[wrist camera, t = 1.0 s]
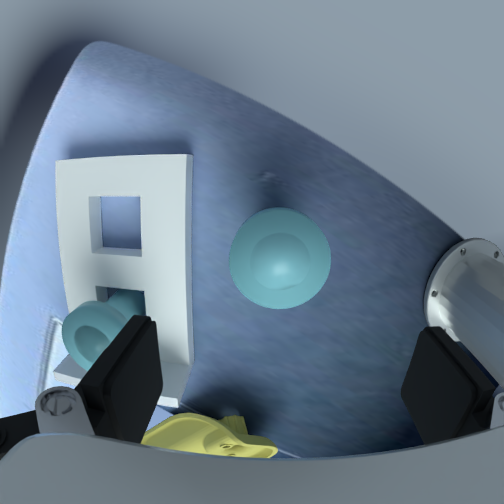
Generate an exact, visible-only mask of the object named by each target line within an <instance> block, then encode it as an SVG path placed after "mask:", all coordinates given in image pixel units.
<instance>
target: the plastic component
mask: <svg viewBox="0 0 504 504" xmlns="http://www.w3.org/2000/svg"><path fill="white" fill-rule="evenodd" d="M141 444H144V445H149V446H155V447H160V448H167V449H173V450H180V451H187V452H195V453H203V454H212V455H222V456H234V457H251V458H270V457H272V456H273V455H275V454H276V453H277V451H278V449H277V447H276V445H275V444H274V443H273V442H272V441H271V440H269V439H268V438H266V437H262V436H255V435H248V432H247V428H246V424H245V421H244V417H243V416H241V417H240V416H237V415H233V416H229V417H227V416H225V417H224V418H223V419H221V420H215V419H213V418H210V417H207V416H204V415H200V414H195V413H181V414H177V415H174V416H171V417H169V418H167V419H166V420H164V421H162V422H161V423H159V424H158V425H156V426H154V427H153V428H151V429H150V430H148V431H146V432H145V434H144V436H143V439H142V441H141Z"/></svg>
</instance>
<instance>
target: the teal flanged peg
mask: <svg viewBox="0 0 504 504" xmlns="http://www.w3.org/2000/svg"><path fill="white" fill-rule="evenodd" d="M145 314H146V306H145V297H144V295H143V294H142V293H141V292H140V291H139V290H130V289H121V288H120V289H119V290H118V291H117V292H116V293H115V294H113V295H112V296H111V297H110V298H109V299H108V300H107V301H106V302H105V303H104V302H101V301H87V302H84V303H82V304H81V305H79V306H78V307H77V308H76V309H75V310H73V311H72V312H71V313H70V314H69V315H68V316H67V317H66V318H65V320H64V322H63V325H62V338H63V342H64V344H65V347H66V349H67V351H68V353H69V354H70V356H71V357H72V358H73V359H74V361H75V362H76V363H77V364H78V365H80V366H81V367H82V368H83V369H85V370H86V371H88V370H89V369H90V368H91V366H92V365H93V364H94V363H95V361H96V360H97V359H98V357H99V356H100V355H101V354H102V352H103V351H104V350H105V349H106V348H107V347H108V346H109V345H110V343H111V342H112V341H113V340H114V338H115V337H116V336H117V334H118V333H119V332H120V331H121V329H122V328H123V327H124V326H125V324H126V323H127V322H128V321H129V320H130V318H131V317H132V316H133V315H143V316H145Z"/></svg>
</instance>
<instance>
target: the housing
mask: <svg viewBox="0 0 504 504" xmlns="http://www.w3.org/2000/svg"><path fill="white" fill-rule="evenodd" d="M55 173H56V210H57V226H58V238H59V248H60V257H61V266H62V273H63V280H64V287H65V293H66V299H67V304H68V310H69V314H70V313H71V312H72V311H73V310H75V309H76V308H77V307H78V306H79V305H81V304H82V303H84V302H87V301H101V302H104V303H105V302H106V301H107V300H108V293H107V287H112V288H121V289H130V290H140V291H144V294H145V306H146V316H150V317H151V320H152V321H155V322H156V325H157V335H158V345H159V353H160V362H161V370H162V377H163V390H162V393H161V395H160V398H159V400H158V403H157V404H158V405H164V406H170V407H177V408H178V407H179V404H180V402H181V399H182V396H183V393H184V390H185V387H186V384H187V381H188V378H189V375H190V372H191V369H192V367H193V364H194V340H193V314H192V264H191V224H192V174H193V155H189V154H158V155H127V156H108V157H92V158H80V159H68V160H58V161H56V170H55ZM101 196H140V202H141V244H142V249H129V248H113V247H103V239H102V220H101ZM87 372H88V371H86V370H85V369H83V368H82V367H81V366H80V365H78V364H77V363H76V362H75V361H74V359H73V358H72V357H71V356H70V354H68V355H67V356H66V358H65V359H64V360H63V361H62V362H61V363H60V364H59V365H58V366H57V367H56V369H55V370H54V371H53V373H54V376H55V379H56V380H57V381H60V382H63V383H67V384H70V385H74V386H77V385H78V383H79V382H80V381H81V379H82V378H83V377H84V376H85V374H86V373H87Z"/></svg>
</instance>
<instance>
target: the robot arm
mask: <svg viewBox="0 0 504 504" xmlns="http://www.w3.org/2000/svg"><path fill="white" fill-rule="evenodd" d="M424 314H425V318H426V321H427V323H428V325H429V327H425V329H424V330H423V331H421V332H420V334H419V337H418V340H417V344H416V347H415V350H414V353H413V356H412V359H411V362H410V365H409V368H408V371H407V374H406V377H405V379H404V382H403V385H402V388H401V397H402V399H403V401H404V403H405V405H406V407H407V409H408V411H409V413H410V415H411V417H412V419H413V421H414V423H415V425H416V428H417V430H418V432H419V434H420V436H421V438H422V440H423V442H424V444H425V445H422V446H417V447H411V448H406V449H400V450H393V451H386V452H379V453H371V454H362V455H352V456H339V457H323V458H251V457H234V456H222V455H212V454H203V453H195V452H187V451H180V450H173V449H167V448H160V447H155V446H149V445H144V444H141V441H142V439H143V436H144V434H145V431H146V429H147V427H148V424H149V422H150V419H151V417H152V415H153V412H154V410H155V407H156V405H157V403H158V400H159V398H160V395H161V393H162V390H163V377H162V370H161V362H160V353H159V345H158V335H157V325H156V322H155V321H152V320H151V317H150V316H143V315H133V316H132V317H131V318H130V320H129V321H128V322H127V323H126V324H125V326H124V327H123V328H122V329H121V331H120V332H119V333H118V334H117V336H116V337H115V338H114V340H113V341H112V342H111V343H110V345H109V346H108V347H107V348H106V349H105V350H104V351H103V352H102V354H101V355H100V356H99V357H98V359H97V360H96V361H95V363H94V364H93V365H92V366H91V368H90V369H89V370H88V372H87V373H86V374H85V376H84V377H83V378H82V379H81V381H80V382H79V383H78V385H77V386H76V387H75V389H72V388H69V387H64V386H58V387H52V388H49V389H47V390H45V391H43V392H42V393H41V394H40V395H39V396H38V397H37V399H36V401H35V409H36V410H33V411H29V412H25V413H21V414H17V415H13V416H9V417H4V418H0V504H504V393H500V394H498V395H497V396H496V397H495V399H494V398H493V396H492V394H493V393H494V391H495V389H496V388H495V387H494V385H493V384H492V383H491V382H490V381H489V379H488V378H487V377H486V376H485V375H484V374H483V372H482V371H481V370H480V369H479V368H478V367H477V366H476V364H475V363H474V362H473V361H472V360H471V359H470V358H469V357H468V355H467V354H466V353H465V352H464V351H463V350H462V349H461V348H460V347H459V346H458V344H457V343H456V342H455V341H461V342H462V343H463V344H464V345H465V346H466V347H467V348H468V349H469V350H470V352H471V353H472V354H473V355H474V356H475V357H476V358H477V359H478V360H479V361H480V362H481V364H482V365H483V366H484V367H485V368H486V369H487V370H488V371H489V373H490V374H491V375H492V376H493V377H494V378H495V379H496V381H497V382H498V383H499V384H500V385H501V386H502V388H503V389H504V256H503V254H502V252H501V251H500V249H499V248H498V247H497V246H496V245H495V244H493V243H491V242H490V241H487V240H485V239H481V238H471V239H466V240H464V241H461V242H459V243H458V244H456V245H454V246H453V247H451V248H450V249H449V250H448V251H447V252H446V253H445V254H444V255H443V256H442V258H441V259H440V260H439V262H438V263H437V265H436V266H435V268H434V270H433V271H432V273H431V276H430V278H429V280H428V283H427V287H426V290H425V296H424Z"/></svg>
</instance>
